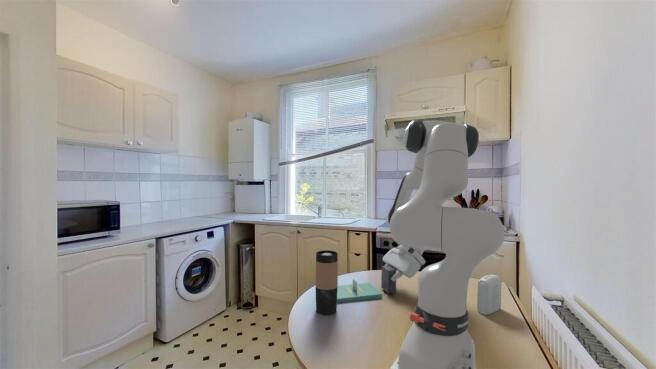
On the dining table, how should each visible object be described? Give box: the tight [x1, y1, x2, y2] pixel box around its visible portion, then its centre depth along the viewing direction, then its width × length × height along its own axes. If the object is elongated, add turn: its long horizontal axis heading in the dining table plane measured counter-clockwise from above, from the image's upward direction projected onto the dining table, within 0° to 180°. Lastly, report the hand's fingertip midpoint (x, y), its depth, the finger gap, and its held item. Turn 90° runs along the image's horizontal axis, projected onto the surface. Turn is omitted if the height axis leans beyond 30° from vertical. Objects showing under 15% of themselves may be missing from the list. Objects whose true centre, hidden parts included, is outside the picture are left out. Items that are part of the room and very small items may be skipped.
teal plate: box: [337, 278, 383, 304], centre depth 112 cm, size 12×18×6 cm, turn 105°
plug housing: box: [380, 265, 397, 294], centre depth 115 cm, size 6×3×9 cm, turn 15°
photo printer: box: [476, 274, 503, 316], centre depth 99 cm, size 10×4×12 cm, turn 123°
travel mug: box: [315, 249, 339, 316], centre depth 98 cm, size 8×8×20 cm
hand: (387, 276), depth 115 cm, fingers closed on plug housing, 6 cm apart
